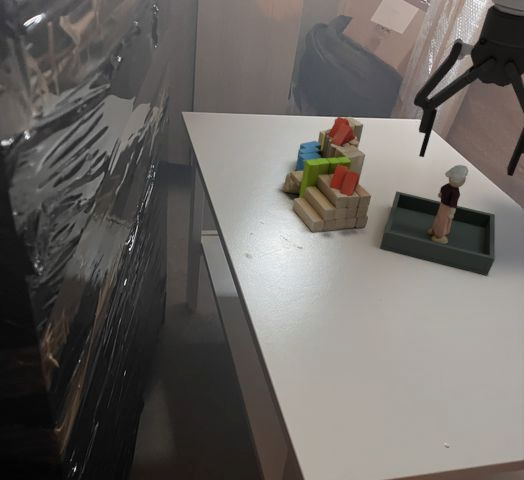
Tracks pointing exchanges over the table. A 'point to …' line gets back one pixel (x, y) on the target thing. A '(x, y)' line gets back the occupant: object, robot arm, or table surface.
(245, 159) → the table surface
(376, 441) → the table surface
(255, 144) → the table surface
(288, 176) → the pile of blocks
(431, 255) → the tray
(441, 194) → the grandmother figurine
